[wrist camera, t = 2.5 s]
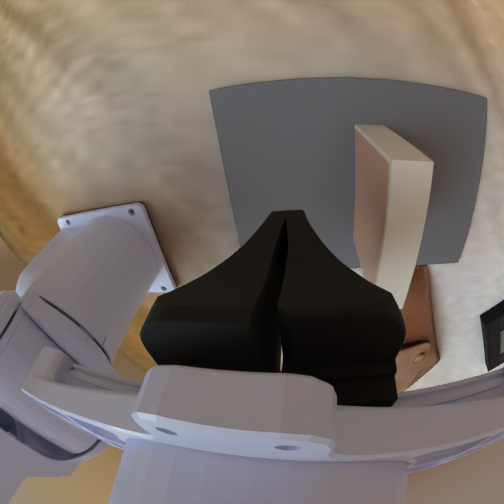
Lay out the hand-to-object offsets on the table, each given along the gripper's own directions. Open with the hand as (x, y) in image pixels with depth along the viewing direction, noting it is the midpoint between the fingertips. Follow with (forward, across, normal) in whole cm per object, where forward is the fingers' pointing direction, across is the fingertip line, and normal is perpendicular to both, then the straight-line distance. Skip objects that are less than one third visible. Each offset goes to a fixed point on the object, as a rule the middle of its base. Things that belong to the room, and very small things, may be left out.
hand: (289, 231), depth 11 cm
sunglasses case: (+6, -10, +16) cm, 19 cm away
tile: (+4, -4, 0) cm, 6 cm away
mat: (+5, -4, 0) cm, 7 cm away
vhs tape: (+6, -26, +17) cm, 32 cm away
